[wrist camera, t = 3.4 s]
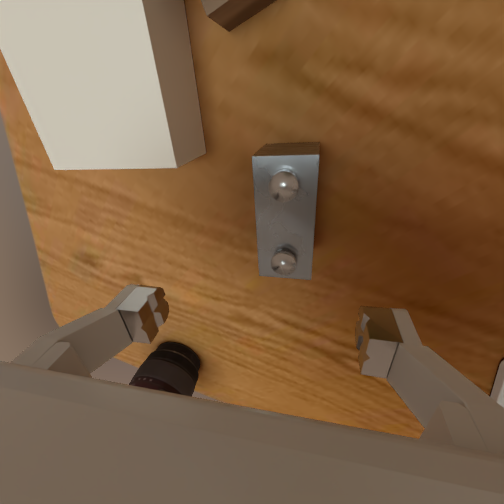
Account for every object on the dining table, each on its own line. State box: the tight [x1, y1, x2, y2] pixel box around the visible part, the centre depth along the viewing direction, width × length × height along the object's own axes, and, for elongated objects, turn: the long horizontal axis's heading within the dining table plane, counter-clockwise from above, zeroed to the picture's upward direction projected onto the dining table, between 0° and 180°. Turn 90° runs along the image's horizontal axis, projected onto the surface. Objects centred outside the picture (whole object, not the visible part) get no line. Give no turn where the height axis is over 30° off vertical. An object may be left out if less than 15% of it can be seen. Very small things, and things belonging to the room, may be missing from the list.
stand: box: [0, 0, 206, 170], centre depth 17 cm, size 12×10×5 cm
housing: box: [252, 142, 319, 280], centre depth 19 cm, size 9×4×6 cm, turn 4°
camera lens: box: [129, 342, 200, 397], centre depth 31 cm, size 8×8×15 cm
